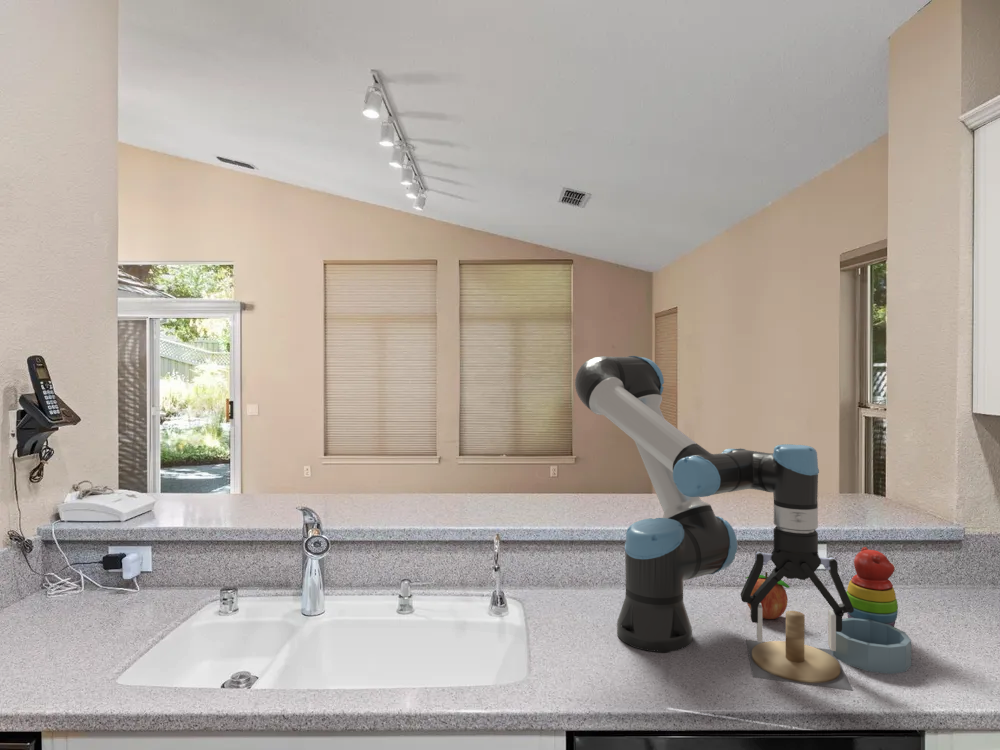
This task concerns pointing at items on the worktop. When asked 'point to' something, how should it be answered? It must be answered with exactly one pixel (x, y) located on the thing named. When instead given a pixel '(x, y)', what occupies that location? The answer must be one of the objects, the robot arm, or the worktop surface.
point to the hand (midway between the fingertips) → (795, 643)
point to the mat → (760, 673)
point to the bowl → (873, 646)
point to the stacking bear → (873, 588)
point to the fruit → (772, 599)
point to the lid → (796, 655)
